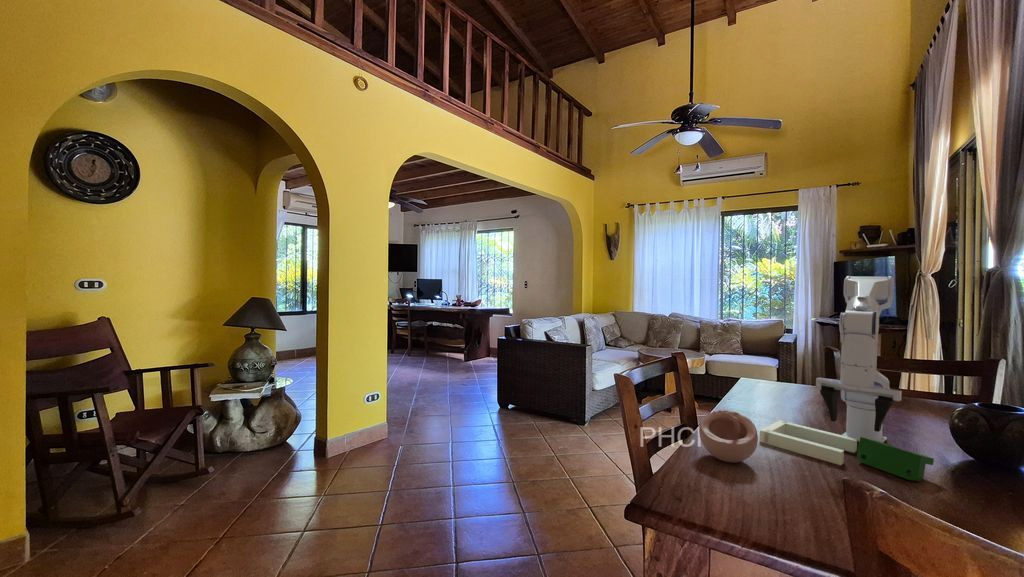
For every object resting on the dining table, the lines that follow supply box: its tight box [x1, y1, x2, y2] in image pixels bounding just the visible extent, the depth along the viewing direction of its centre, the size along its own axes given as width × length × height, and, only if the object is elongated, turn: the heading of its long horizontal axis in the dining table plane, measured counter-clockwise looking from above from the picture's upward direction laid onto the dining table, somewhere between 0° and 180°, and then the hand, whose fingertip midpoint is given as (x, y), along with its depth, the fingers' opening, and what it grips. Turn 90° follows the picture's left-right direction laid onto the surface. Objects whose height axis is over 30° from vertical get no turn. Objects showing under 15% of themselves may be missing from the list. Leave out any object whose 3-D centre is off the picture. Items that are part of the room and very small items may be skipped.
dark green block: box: [856, 437, 935, 482], centre depth 92 cm, size 12×6×9 cm, turn 14°
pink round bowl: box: [698, 409, 759, 463], centre depth 95 cm, size 12×12×12 cm
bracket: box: [759, 419, 858, 466], centre depth 105 cm, size 14×17×3 cm
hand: (854, 425), depth 92 cm, fingers open, 7 cm apart
